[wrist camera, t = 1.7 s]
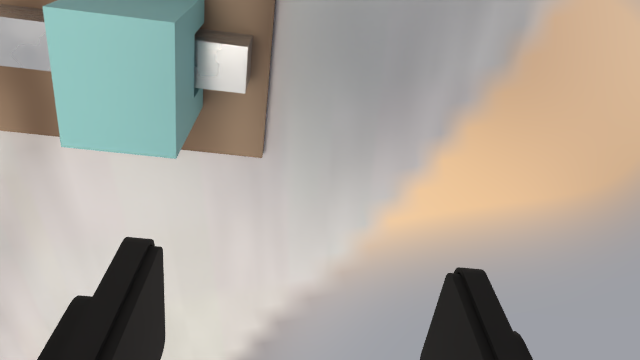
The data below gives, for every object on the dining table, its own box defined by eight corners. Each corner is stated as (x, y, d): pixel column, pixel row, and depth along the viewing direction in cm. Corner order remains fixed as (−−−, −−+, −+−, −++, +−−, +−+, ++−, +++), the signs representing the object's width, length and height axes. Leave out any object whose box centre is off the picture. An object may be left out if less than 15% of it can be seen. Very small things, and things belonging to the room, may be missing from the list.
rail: (252, 35, 27) (247, 47, 25) (250, 78, 28) (245, 93, 26) (-171, -18, 25) (-215, -10, 23) (-155, 31, 26) (-195, 43, 24)
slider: (204, -6, 26) (174, 22, 20) (202, 106, 28) (176, 158, 23) (102, -19, 25) (42, 6, 19) (111, 96, 28) (61, 146, 22)
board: (280, -63, 25) (279, -62, 25) (262, 151, 31) (261, 157, 30) (-238, -135, 23) (-255, -136, 23) (-154, 107, 29) (-165, 113, 29)
